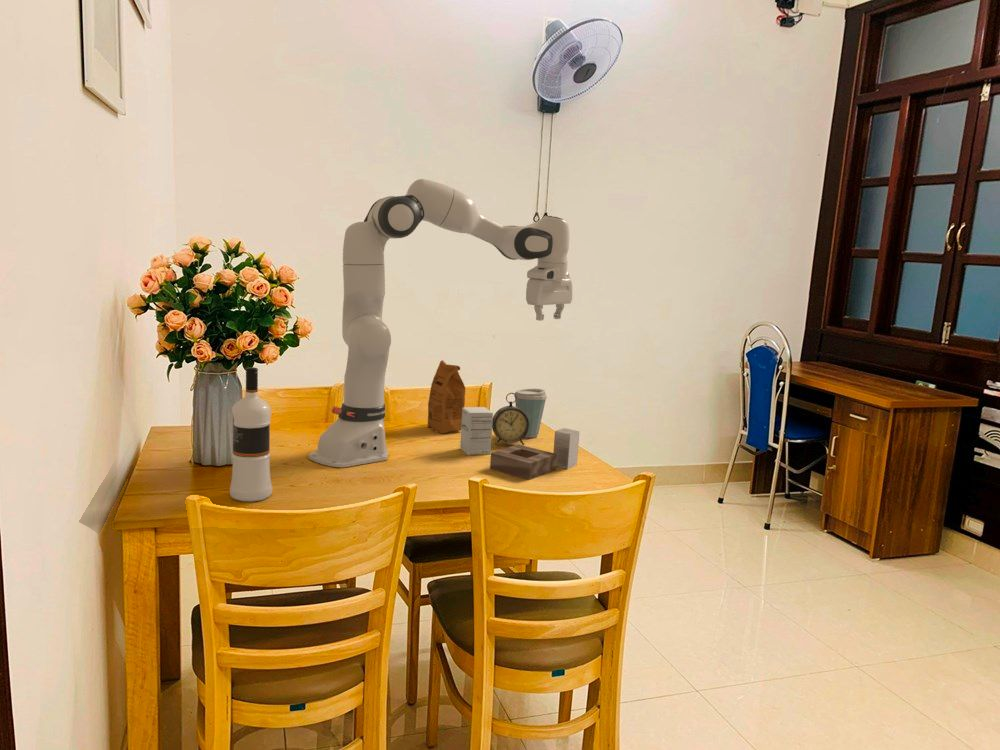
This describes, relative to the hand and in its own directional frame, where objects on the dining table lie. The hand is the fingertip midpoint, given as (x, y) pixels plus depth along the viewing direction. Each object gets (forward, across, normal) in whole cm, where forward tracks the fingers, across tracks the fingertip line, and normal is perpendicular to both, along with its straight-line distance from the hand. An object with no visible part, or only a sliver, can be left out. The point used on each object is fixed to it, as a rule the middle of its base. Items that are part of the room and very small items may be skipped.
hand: (548, 319), depth 226 cm
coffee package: (+39, +6, -33) cm, 52 cm away
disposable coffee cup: (+39, -9, -10) cm, 42 cm away
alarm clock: (+39, +5, -8) cm, 40 cm away
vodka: (+39, +88, -21) cm, 99 cm away
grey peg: (+39, +11, +16) cm, 44 cm away
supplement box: (+39, +19, -10) cm, 45 cm away
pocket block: (+39, +23, +10) cm, 46 cm away
